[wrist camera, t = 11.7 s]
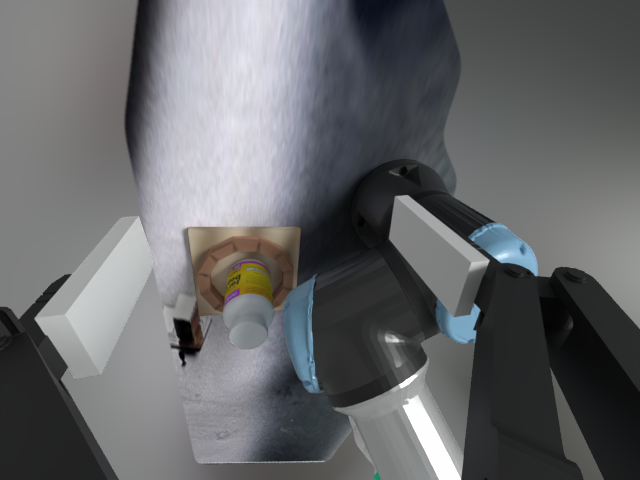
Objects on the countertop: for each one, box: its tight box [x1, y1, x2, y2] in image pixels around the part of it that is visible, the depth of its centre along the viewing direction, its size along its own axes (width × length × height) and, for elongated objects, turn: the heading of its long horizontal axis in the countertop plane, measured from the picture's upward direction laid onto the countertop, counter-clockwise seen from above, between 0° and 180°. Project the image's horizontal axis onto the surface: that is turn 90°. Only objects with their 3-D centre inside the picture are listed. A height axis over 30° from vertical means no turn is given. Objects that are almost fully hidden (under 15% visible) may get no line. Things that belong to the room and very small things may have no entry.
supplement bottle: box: [223, 259, 274, 349], centre depth 41 cm, size 7×7×13 cm
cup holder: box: [188, 227, 301, 316], centre depth 46 cm, size 16×16×3 cm
